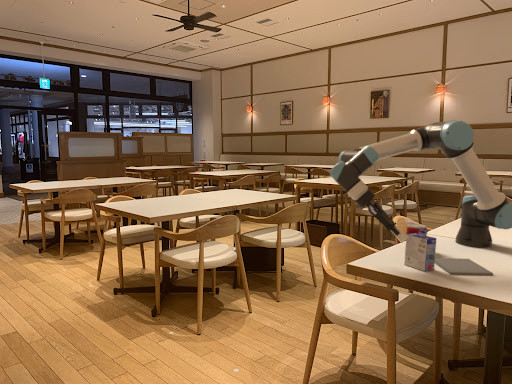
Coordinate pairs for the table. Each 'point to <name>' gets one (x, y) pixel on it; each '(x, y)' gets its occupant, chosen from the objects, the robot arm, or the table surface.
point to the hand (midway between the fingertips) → (404, 240)
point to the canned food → (415, 228)
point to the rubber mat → (461, 266)
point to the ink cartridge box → (420, 251)
